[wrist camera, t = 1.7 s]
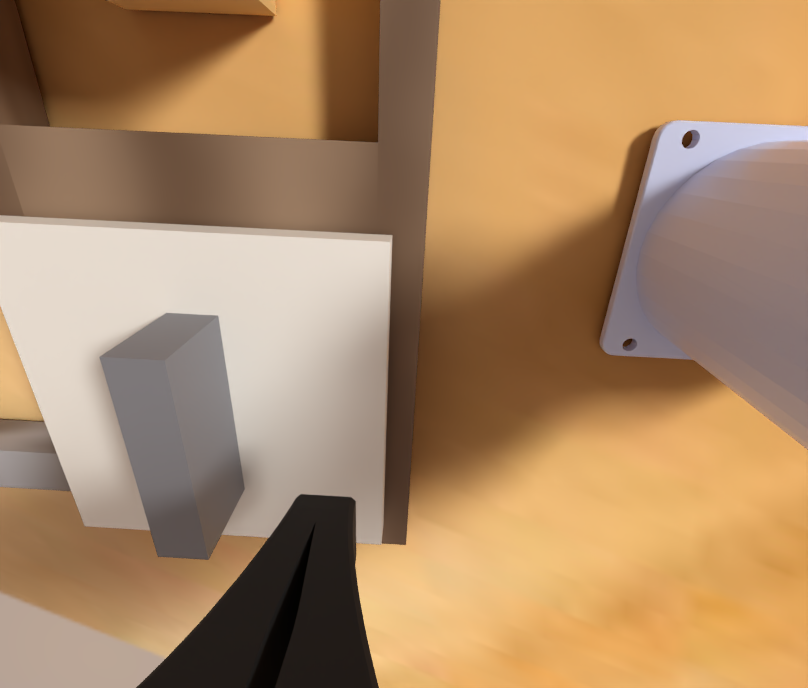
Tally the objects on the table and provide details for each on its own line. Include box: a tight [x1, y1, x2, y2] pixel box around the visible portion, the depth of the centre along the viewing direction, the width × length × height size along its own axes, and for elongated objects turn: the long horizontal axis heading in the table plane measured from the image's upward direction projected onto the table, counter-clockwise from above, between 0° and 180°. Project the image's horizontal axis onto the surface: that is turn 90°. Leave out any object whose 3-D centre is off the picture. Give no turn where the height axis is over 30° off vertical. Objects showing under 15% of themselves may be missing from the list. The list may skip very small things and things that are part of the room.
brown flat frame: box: [0, 0, 440, 545], centre depth 14 cm, size 26×29×2 cm
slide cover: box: [0, 215, 392, 560], centre depth 14 cm, size 12×12×4 cm
